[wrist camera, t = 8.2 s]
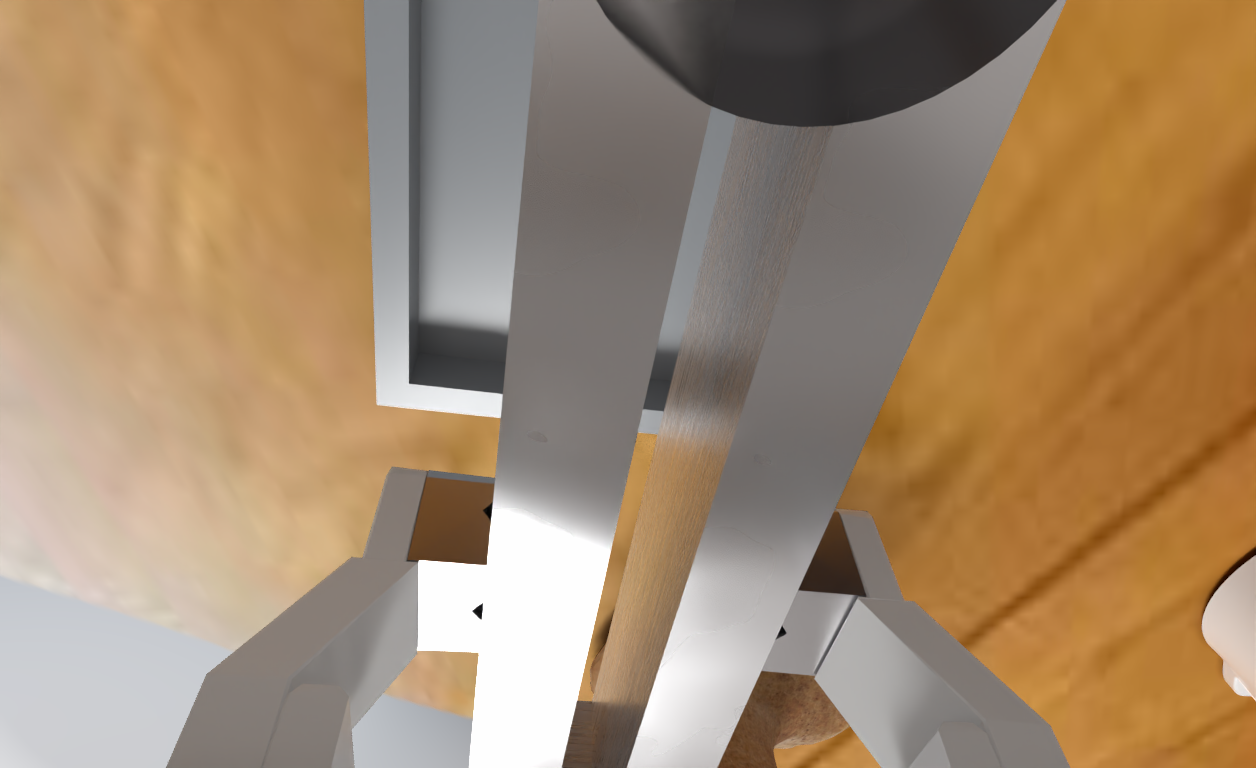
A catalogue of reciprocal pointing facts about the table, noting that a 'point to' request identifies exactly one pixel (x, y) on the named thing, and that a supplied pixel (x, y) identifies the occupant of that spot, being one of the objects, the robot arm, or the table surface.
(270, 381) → the table surface
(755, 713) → the stone cup
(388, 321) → the utensil tray
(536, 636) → the steel tongs
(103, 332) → the table surface
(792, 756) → the table surface
